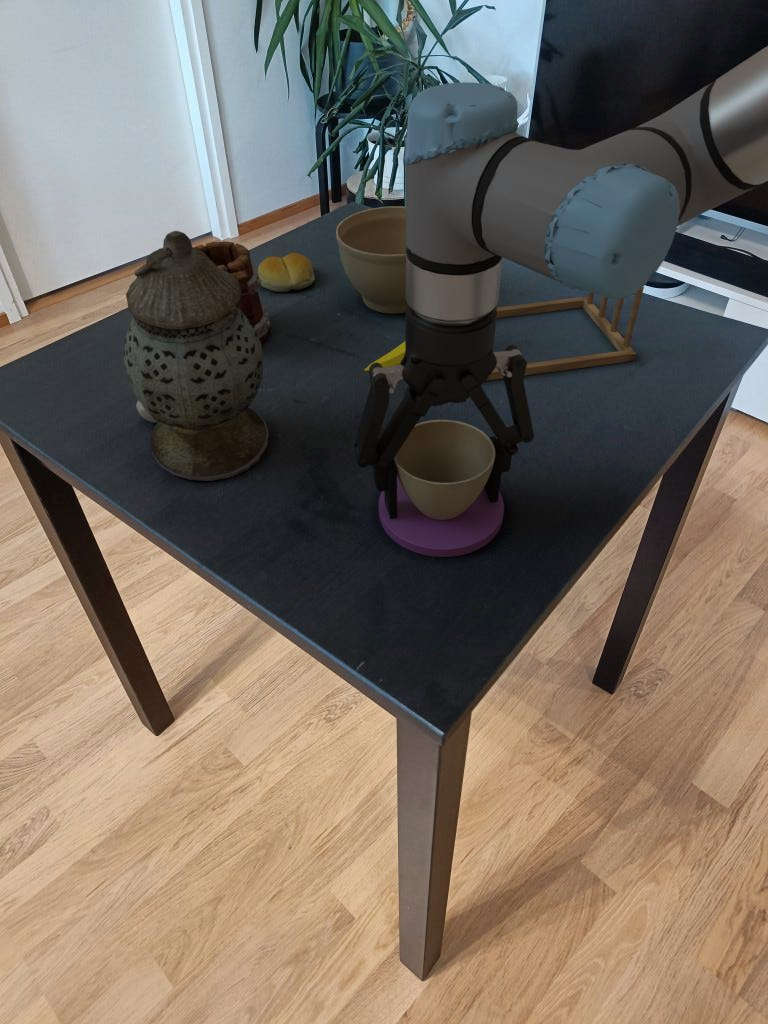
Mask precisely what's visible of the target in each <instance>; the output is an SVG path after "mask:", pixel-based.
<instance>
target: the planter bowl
mask: <svg viewBox="0 0 768 1024" xmlns="http://www.w3.org/2000/svg"><path fill="white" fill-rule="evenodd" d="M335 239H336V242H337V245H338V250H339V252H338V253H339V256H340V261H341V264H342V267H343V269H344V271H345V272H344V273H345V274H346V276H347V279H348V280H349V281H350V283H351V284H352V286H353V287H354V289H356V291H357V292H358V293H359V294H360V296H361V298H362V302H363V303H364V305H365V306H366V307H368V308H369V309H371V310H372V311H375V312H379V313H384V314H393V315H396V314H404V313H405V314H406V306H407V304H408V303H407V301H406V206H402V205H401V206H400V205H399V206H395V205H394V206H393V205H392V206H391V205H389V206H380V207H375V208H373V207H372V208H369V209H365V210H362V211H358V212H356V213H353V214H351V215H348V216H347V217H345V218H344V219H342V220H341V221H340V222H339V223H338V224H337V226H336V229H335Z"/></svg>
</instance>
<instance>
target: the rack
mask: <svg viewBox="0 0 768 1024" xmlns="http://www.w3.org/2000/svg"><path fill="white" fill-rule="evenodd" d="M644 289H645V286H643V287H642V288H641V289H640V290H638V291H637V292H636V293H634V294H635V295H634V299H633V303H632V307H631V311H630V314H629V320H628V323H627V327H626V331H625V334H624V335H625V336H624V337H623V336H622V335H621V334H620V333H619V332H618V330H617V329H618V325H619V321H620V316H621V312H622V307H623V304H624V299H625V298H620V299H616V304H615V308H614V312H613V315H612V321H611V322H610V321H609V320H608V319H607V318H606V316H605V313H606V309H607V304H608V300H609V298H607V297H604V296H601V301H600V305H599V308H598V307H597V306H596V305H595V304H594V303H593V302H594V299H595V298H594V297H595V293H592V292H588V293H587V296H580V297H571V298H564V299H555V300H548V301H539V302H531V303H522V304H513V305H507V306H499V307H496V309H497V317H496V319H501V318H509V317H510V318H511V317H517V316H518V317H519V316H525V315H534V314H541V313H549V312H559V311H567V310H574V309H581V308H582V310H584V312H585V313H586V314H587V315H588V316H589V318H590V319H591V320H592V321H593V322H594V324H595V325H596V326H597V327H598V328H599V330H600V331H601V332H602V333H603V334H604V336H605V337H606V338H607V339H608V340H609V341H610V343H611V344H612V345H613V347H615V349H616V350H617V351H610V352H603V353H595V354H587V355H581V356H574V357H566V358H565V357H564V358H558V359H550V360H543V361H536V362H528V363H527V366H526V371H525V375H524V377H526V376H533V375H541V374H547V373H553V372H561V371H569V370H576V369H583V368H590V367H598V366H605V365H612V364H619V363H620V364H621V363H626V362H627V363H628V362H634V361H635V359H636V355H637V352H636V351H635V350H634V348H633V347H631V345H630V344H631V340H632V337H633V332H634V330H635V329H634V328H635V325H636V320H637V317H638V313H639V309H640V304H641V301H642V297H643V293H644ZM495 380H504V377H503V376H502V375H501V373H500V371H499V370H498V367H495V369H494V370H493V372H492V373H491V374H490V375H489V376H488V378H487V379H486V380H485V381H484V382H488V381H495Z"/></svg>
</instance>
